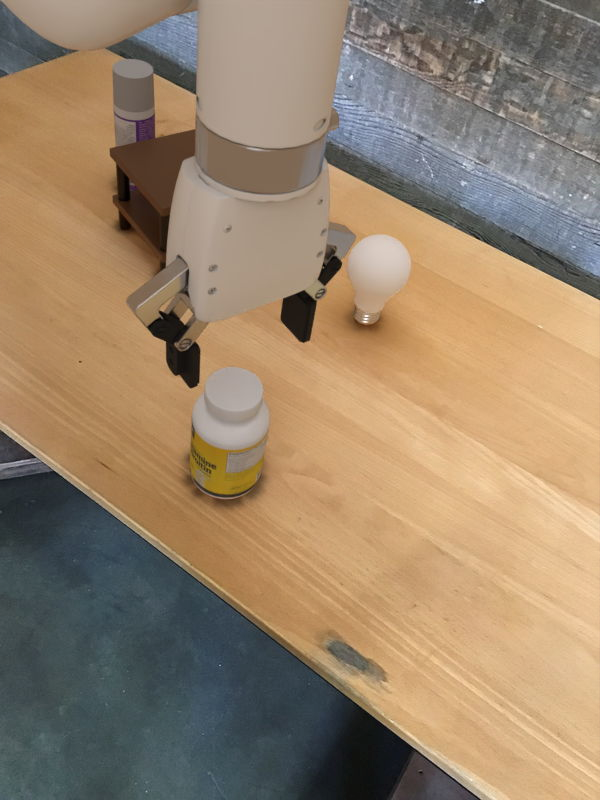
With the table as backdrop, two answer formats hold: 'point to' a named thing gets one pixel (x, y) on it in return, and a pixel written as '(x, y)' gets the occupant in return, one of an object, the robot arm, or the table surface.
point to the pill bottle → (229, 434)
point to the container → (133, 102)
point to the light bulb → (376, 274)
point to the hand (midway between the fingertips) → (241, 352)
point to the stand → (150, 185)
